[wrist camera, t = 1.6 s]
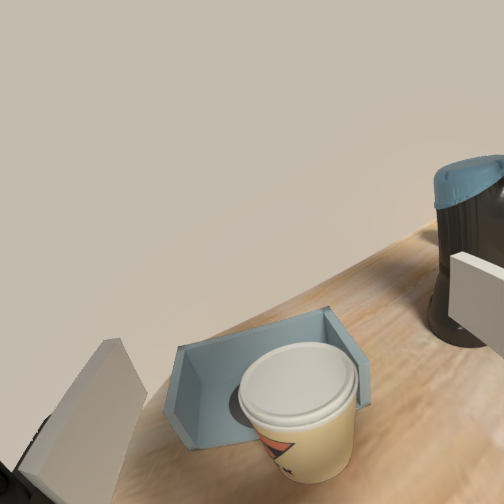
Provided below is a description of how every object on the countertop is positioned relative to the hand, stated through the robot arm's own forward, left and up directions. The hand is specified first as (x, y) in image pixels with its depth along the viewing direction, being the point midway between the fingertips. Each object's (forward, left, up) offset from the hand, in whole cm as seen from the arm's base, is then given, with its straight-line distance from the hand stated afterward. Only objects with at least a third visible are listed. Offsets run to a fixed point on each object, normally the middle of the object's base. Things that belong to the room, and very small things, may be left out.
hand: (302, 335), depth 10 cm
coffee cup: (0, -8, -21) cm, 23 cm away
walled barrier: (+3, -19, -21) cm, 29 cm away
